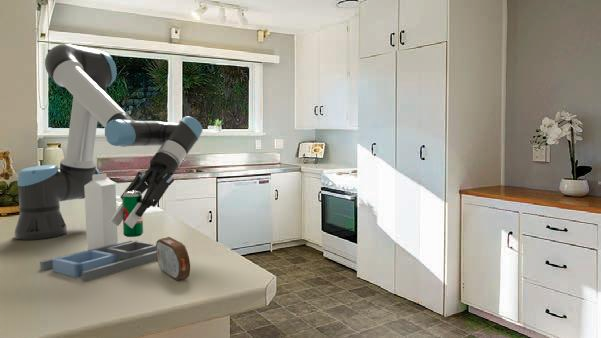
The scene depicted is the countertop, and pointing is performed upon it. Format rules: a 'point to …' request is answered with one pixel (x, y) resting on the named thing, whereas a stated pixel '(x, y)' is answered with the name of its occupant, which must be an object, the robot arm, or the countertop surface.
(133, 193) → the soda can
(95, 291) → the countertop surface
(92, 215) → the milk
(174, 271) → the tin
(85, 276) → the grey railed frame
